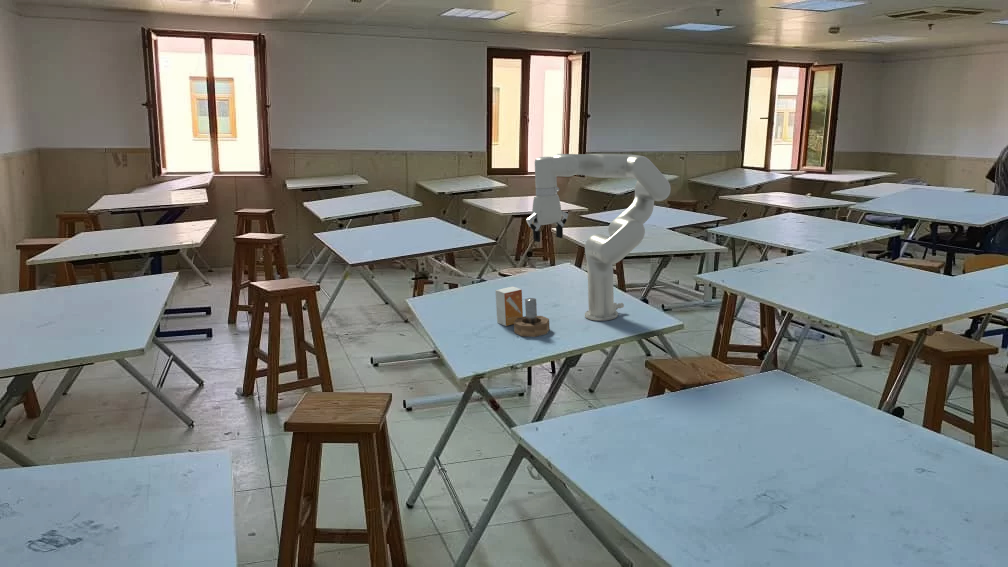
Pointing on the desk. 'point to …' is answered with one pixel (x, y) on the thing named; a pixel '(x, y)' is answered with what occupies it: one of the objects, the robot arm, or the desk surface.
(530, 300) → the peg
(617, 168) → the robot arm
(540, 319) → the brown octagonal ring
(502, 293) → the small box
